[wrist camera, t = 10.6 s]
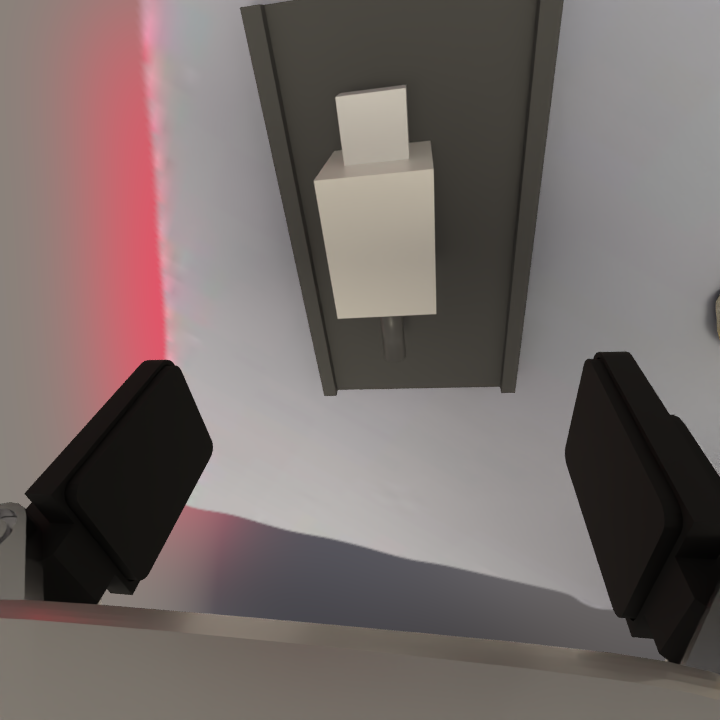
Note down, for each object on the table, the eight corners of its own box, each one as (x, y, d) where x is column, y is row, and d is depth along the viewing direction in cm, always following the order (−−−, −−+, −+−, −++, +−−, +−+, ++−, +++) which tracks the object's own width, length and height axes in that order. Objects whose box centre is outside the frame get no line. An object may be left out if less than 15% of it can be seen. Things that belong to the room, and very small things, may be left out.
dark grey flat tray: (511, 378, 28) (514, 392, 27) (327, 382, 30) (324, 395, 29) (558, -41, 16) (569, -46, 15) (251, 8, 18) (240, 7, 17)
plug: (434, 328, 25) (437, 384, 21) (359, 332, 26) (349, 386, 22) (429, 77, 18) (432, 90, 14) (325, 90, 19) (301, 107, 15)
